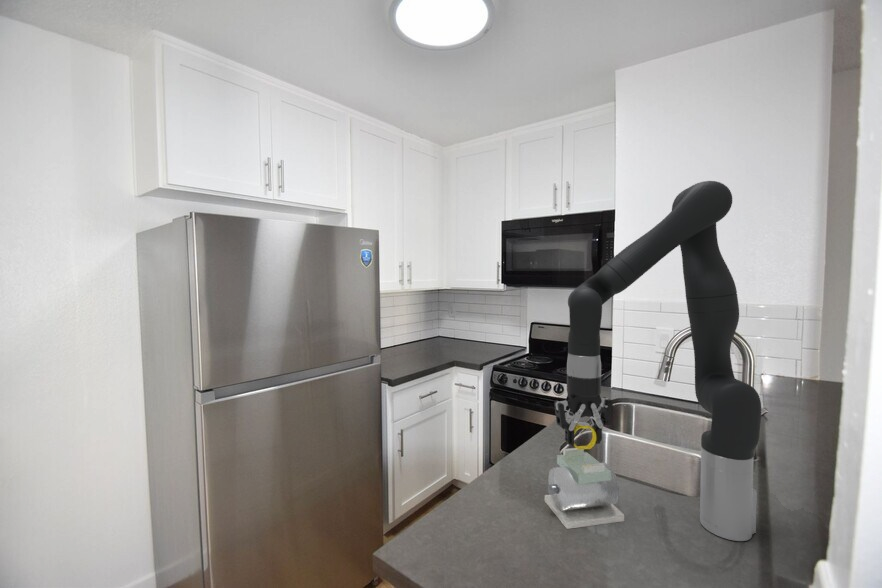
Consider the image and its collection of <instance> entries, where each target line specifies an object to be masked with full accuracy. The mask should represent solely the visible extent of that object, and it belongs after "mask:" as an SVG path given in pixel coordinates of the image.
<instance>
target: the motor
mask: <svg viewBox="0 0 882 588" xmlns="http://www.w3.org/2000/svg"><path fill="white" fill-rule="evenodd" d="M562 453H563V454H557V455H556V463H557V465H558V466H559V467H558V466H557V467H551V468H550V469H549V472H548V481H547V482H548V485H547V486H546V488H547V492H548V494H544V502H545V503H546V505H547V506H548V508H550V509H551V511H552V512H553V513H554V515H555V516H556V518H558V520H559V521H560V522H561V524H562V525H563V526H564V527H565V529H566V530H569V529H575V528H576V529H577V528H584V527H591V526H598V525H599V526H600V525H606V524H607V525H608V524H614V523H622V522H625V514H624V513H623V512H622V511H621V510H620V509H619V508H618V507H616V505H615V504H617V503H618V501H620V499H619V498H620V492H621V491H620V484H619V481H618V477H617V476H616V473H615V472H614V469H613V468H612V467H611V466H610V465H609V464H608V463H606V462H600V461H598V460H597V459H596V458H595V457H594V456H592V455H591V454H589V453H588V452H587V451H585V449H581V450H578V449H577V448H576V447H572V448H563V449H562Z"/></svg>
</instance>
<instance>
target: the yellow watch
mask: <svg viewBox="0 0 882 588" xmlns="http://www.w3.org/2000/svg"><path fill="white" fill-rule="evenodd" d="M576 424H577V425H575V427H574V429H573V430H574V436H575V434H576V433H577V432H578V430H580V429H583V430H584V429H585V430H588V429H590V431H591V440H590V442H589V443H588V444H586V445H580V446H579V445H578V446H577V444H576V442H574V446H573V447H574V448H577V449H578V450H581V449H584V450H591V449H592V448H593V447H594V446H595V444H596V443H595V442H596V439H597V436H596V432H595V431H594V429H593V428H592V426H591V424H590V423H589V422H585V421H578V422H577V423H576ZM592 436H593V437H592Z"/></svg>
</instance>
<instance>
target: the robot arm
mask: <svg viewBox="0 0 882 588" xmlns="http://www.w3.org/2000/svg"><path fill="white" fill-rule="evenodd" d="M732 204H733V194H732V192H731V190H730V188H729V187H728V186H727V185H726V184H724V183H722V182H720V181H716V180H706V181H700V182H697V183H694V184H693V185H691V186H689V187H687V188H685V189H684V190H681V191H680V193H678V194H677V195H676V196H675V198H674V200H673V202H672V205H671V211H670V212H669V214H667V215H666V216H665V217H664V218H663V219H662V220H661V221H660V222H659V223H657V224H656V225H655V226H654V227H652V228H651V229H650V230H649V231H647V232H646V233H644V234H642V236H640V237H638V238H637V239H636V240H635V241H633V242H632V243H630V244H628V245H627V246H626V247H625V248H623V249H622V250H621V251H619V252H618V253H617V254H616V255H615V256H614V257H612V258H611V259H610V260H609V261H608V262H606V263H605V264H604V265H603V266H601V267H600V269H599V270H598V271H597V272H596V273H595V274H593V275H592V276H590V277H589V278H587V279H586V280H585V281H584V282H582V283H581V284H580V285H578V286H577V287H576V288H575V289H574V290H572V291H571V293H570V294H569V295H568V298H567V305H568V309H569V332H568V337H567V338H568V339H567V360H566V393H567V395H566V398H565V400H560V401H559V400H557V399H556V400H555V401H554V403H553V404H554V405H553V406H554V413H555V420H556V424H557V425H558V426H559V427H560V428H561V429H563V430H564V441H565V443H566V444H567V445H569V446H570V447H575V446H574V443H575V435H574V430H573V429H574V427H575V426H576V424H577V423H578V422H580V419H581V418H585V417H589V418H590V420H591V422H592V424H593V425H592V426H591V427H592V428H593V429H594V431H595V432H596V436H597V439H596V442H595V444H596V445H600V444H601V442H602V440H603V427H604V426H609V425H610V424H611V419H612V412H613V404H614V401H613V400H612V399H610V398H608V397H605V396H604V397H601V393H602V361H601V333H600V332H601V324H602V316H603V305H604V304H605V303H607V302H608V301H609V300H610V299H611V298H612V297H614V296H615V295H618V294H620V293H621V292H623V291H625V290H626V289H627V288H628V287H630V286H632V285H633V284H634V283H635V282H637V280H639V279H640V278H641V277H642V276H643V275H645V273H647V272H648V271H649V270H651V269H652V268H653V267H654V266H655V265H656V264H657V263H659V262H660V261H661V260H662V259H664V258H665V257H666V256H667V255H668V254H669V253H672V251H673V250H675V249H676V248H677V247H680V251H681V252H680V253H681V259H682V261H681V262H682V273H683V280H684V282H683V283H684V290H685V300H686V307H687V308H686V309H687V314H688V321H689V327H690V333H691V341H692V346H693V352H694V354H693V355H694V390H695V391H694V393H695V396H696V400H697V402H698V404H699V405H700V406H701V407H702V408H703V410H705V411H707V413H709V414H711V425H710V429H709V430H706V431H704V432H703V433H702V434H701V438H700V439H701V440H700V441H701V443H700V445H701V446H700V495H699V496H700V497H699V498H700V499H699V500H700V503H699V504H700V505H699V522H700V524H701V526H703V529H705V530H707V531H708V532H709V533H712V534H713V535H715V536H718V537H720V538H723V539H726V540H730V541H736V542H745V541H749V540H751V538H752V536H753V535H755V534H754V533H757V498H758V497H757V493H758V491H757V490H756V488H754V455H755V450H756V448H757V445H758V444H759V440H760V432H761V423H762V422H761V421H762V401H761V397H760V395H759V392H758V391H757V390H756V389H755V387H753V386H751V385H750V384H748V383H746V382H744V381H742V380H740V379H737V378H736V377H735V375H734V370H733V365H732V359H731V347H732V343H733V339H734V337H735V334H736V331H737V329H738V325H739V320H740V308H739V306H740V304H739V297H738V291H737V290H738V289H737V287H736V283H735V280H734V278H733V275H732V273H731V271H730V269H729V267H728V265H727V263H726V261H725V260H724V256H723V255H722V253H721V250H720V247H719V242H718V232H717V223H718V222H720V221H721V220H722V219H724V218H725V217H726V216H727V215H728V213H729V212H730V210H731V208H732V206H733V205H732ZM567 407H568V410H567ZM599 407H600V413H599V410H598V409H599ZM566 410H567V413H566V412H565V411H566ZM592 437H593V436H592V435H591V438H592Z"/></svg>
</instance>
